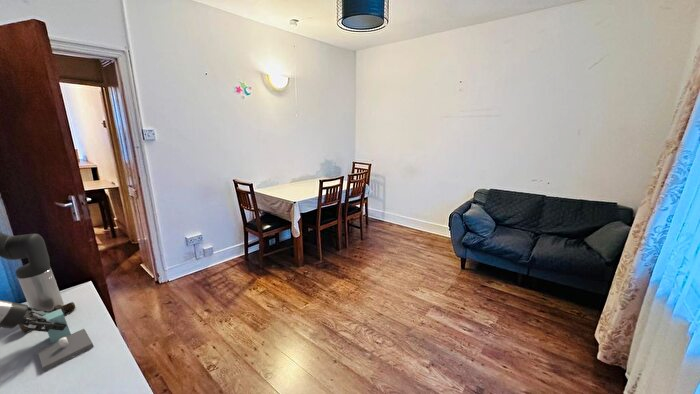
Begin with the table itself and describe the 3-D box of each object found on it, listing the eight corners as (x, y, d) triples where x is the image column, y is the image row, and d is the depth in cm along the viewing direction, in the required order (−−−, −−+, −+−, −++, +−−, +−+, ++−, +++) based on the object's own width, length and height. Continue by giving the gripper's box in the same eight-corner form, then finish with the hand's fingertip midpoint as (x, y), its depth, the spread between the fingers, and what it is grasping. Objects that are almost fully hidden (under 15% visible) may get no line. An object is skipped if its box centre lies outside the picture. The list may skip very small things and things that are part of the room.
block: (49, 337, 103) (41, 316, 100) (68, 328, 106) (60, 308, 104) (51, 343, 100) (43, 321, 97) (71, 334, 103) (63, 313, 101)
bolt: (77, 313, 118) (24, 336, 105) (71, 305, 119) (19, 326, 107) (76, 304, 115) (22, 327, 103) (71, 296, 117) (17, 317, 104)
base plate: (38, 353, 95) (34, 342, 94) (85, 331, 105) (81, 321, 103) (44, 371, 88) (39, 359, 87) (93, 346, 98) (89, 335, 96)
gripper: (12, 310, 88) (74, 321, 100) (8, 294, 96) (66, 305, 109) (-8, 335, 85) (58, 342, 98) (-10, 316, 94) (51, 325, 106)
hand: (62, 323), depth 103 cm, fingers open, 6 cm apart
